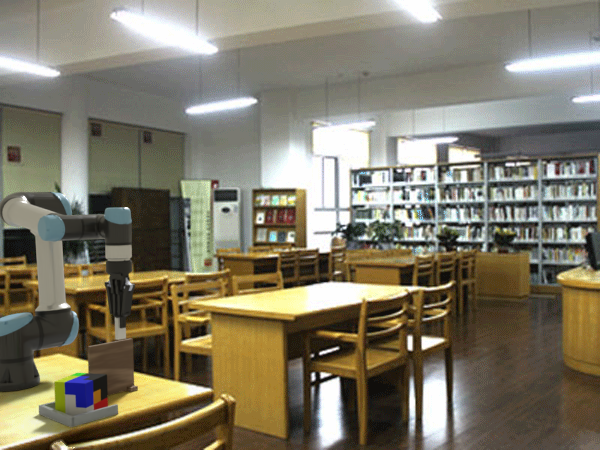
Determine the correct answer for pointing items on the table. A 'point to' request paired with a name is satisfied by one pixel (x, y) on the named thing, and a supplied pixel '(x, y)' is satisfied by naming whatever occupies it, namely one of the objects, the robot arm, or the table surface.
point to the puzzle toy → (81, 393)
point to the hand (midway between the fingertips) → (120, 338)
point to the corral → (79, 419)
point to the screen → (114, 364)
